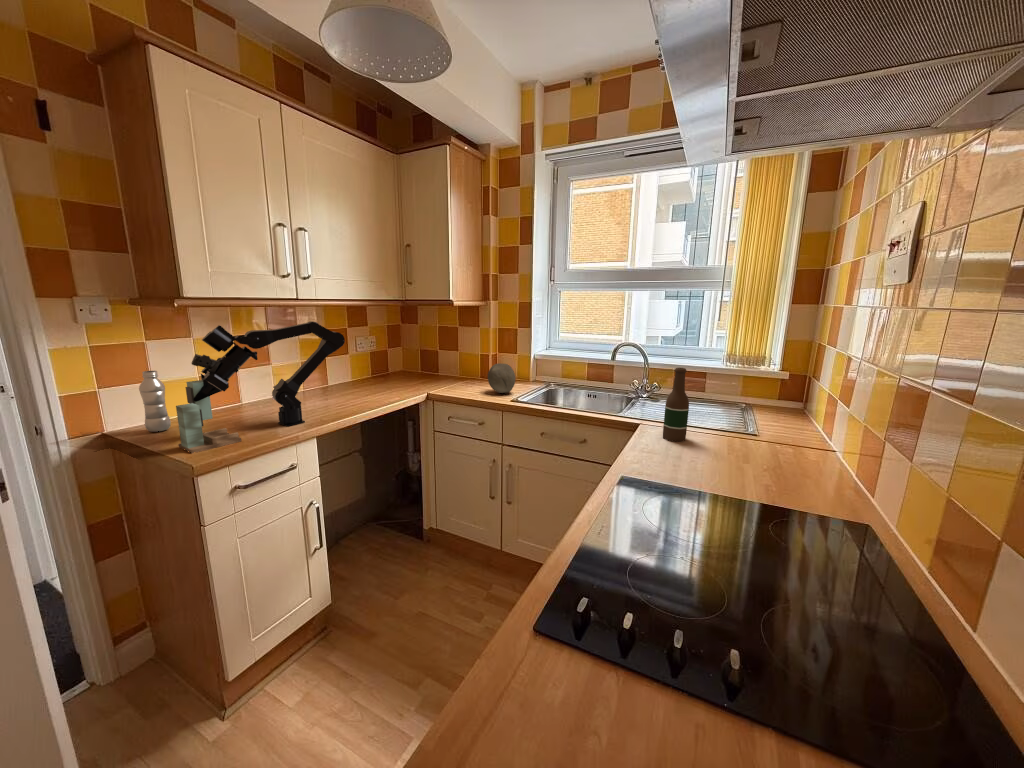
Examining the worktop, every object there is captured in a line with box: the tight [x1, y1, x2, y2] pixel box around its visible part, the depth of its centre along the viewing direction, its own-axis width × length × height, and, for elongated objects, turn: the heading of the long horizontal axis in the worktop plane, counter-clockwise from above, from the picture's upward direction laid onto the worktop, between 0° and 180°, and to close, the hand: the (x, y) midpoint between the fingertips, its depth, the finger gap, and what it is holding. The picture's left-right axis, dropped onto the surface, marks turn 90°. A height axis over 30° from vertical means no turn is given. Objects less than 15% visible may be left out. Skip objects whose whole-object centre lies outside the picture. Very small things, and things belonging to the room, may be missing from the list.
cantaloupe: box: [487, 363, 516, 394], centre depth 200 cm, size 14×14×15 cm
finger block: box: [185, 379, 214, 421], centre depth 128 cm, size 5×4×12 cm
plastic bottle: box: [138, 370, 171, 433], centre depth 133 cm, size 6×7×20 cm
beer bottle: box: [662, 367, 690, 443], centre depth 135 cm, size 8×8×24 cm
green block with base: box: [175, 403, 242, 454], centre depth 123 cm, size 13×9×13 cm
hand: (193, 399), depth 127 cm, fingers closed on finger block, 5 cm apart
